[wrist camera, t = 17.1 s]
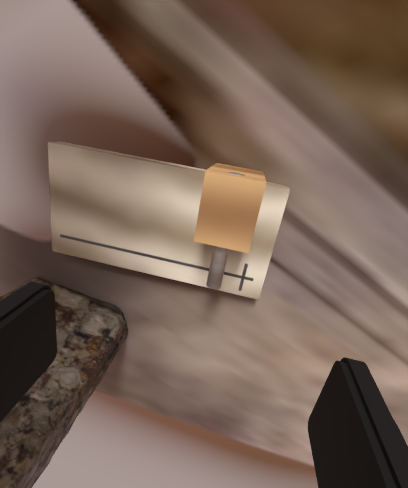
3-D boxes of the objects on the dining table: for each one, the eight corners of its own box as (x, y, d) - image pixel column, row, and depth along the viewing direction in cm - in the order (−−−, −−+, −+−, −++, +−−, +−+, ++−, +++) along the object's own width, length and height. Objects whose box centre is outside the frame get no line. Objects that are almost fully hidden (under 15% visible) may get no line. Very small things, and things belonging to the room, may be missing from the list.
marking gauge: (216, 162, 24) (205, 170, 18) (263, 171, 24) (266, 183, 18) (199, 257, 27) (185, 288, 22) (240, 267, 27) (236, 300, 22)
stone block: (30, 316, 36) (-198, 500, 18) (30, 269, 34) (-239, 429, 15) (128, 346, 36) (-8, 573, 17) (135, 300, 33) (-16, 510, 14)
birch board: (61, 141, 28) (47, 141, 26) (287, 185, 26) (290, 189, 24) (63, 244, 32) (51, 251, 30) (258, 289, 30) (258, 299, 28)
